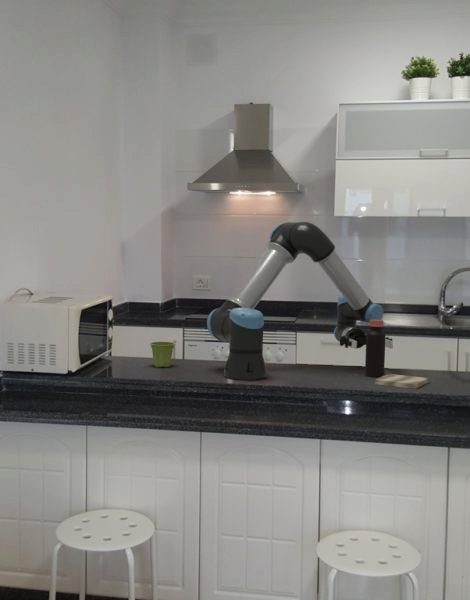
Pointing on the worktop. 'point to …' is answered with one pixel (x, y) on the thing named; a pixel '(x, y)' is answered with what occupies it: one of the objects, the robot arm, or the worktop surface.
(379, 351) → the vinegar
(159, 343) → the plant pot
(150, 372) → the worktop surface
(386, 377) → the birch board
